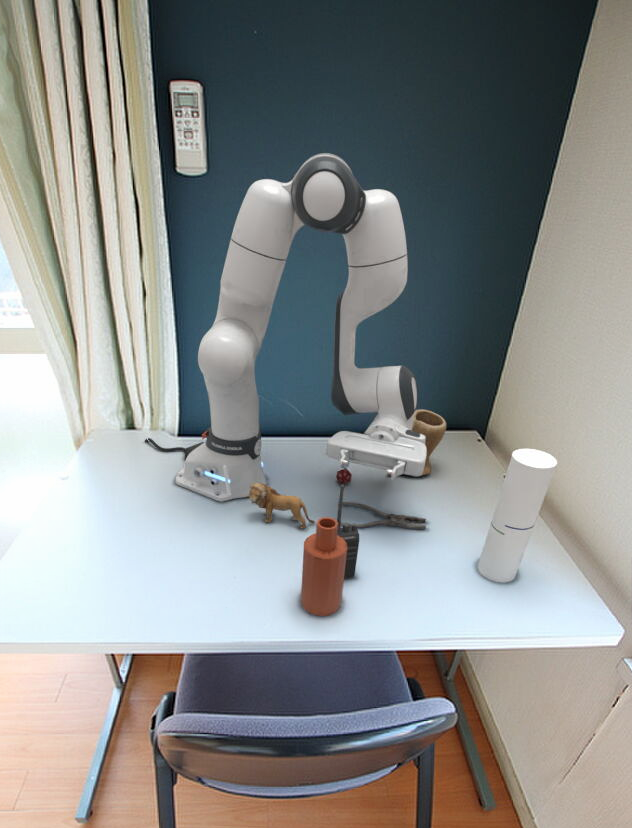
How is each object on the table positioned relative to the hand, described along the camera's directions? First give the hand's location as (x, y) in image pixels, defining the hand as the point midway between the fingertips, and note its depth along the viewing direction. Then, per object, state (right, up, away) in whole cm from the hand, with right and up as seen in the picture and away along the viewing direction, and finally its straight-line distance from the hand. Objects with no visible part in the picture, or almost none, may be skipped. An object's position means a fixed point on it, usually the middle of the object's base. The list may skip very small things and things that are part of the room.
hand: (366, 470), depth 99 cm
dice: (-1, 0, +29) cm, 29 cm away
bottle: (-9, -25, -6) cm, 27 cm away
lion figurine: (-17, -10, +15) cm, 25 cm away
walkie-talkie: (-5, -20, 0) cm, 21 cm away
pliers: (+6, -9, +17) cm, 20 cm away
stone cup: (+18, +5, +38) cm, 42 cm away
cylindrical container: (+26, -20, +2) cm, 33 cm away
